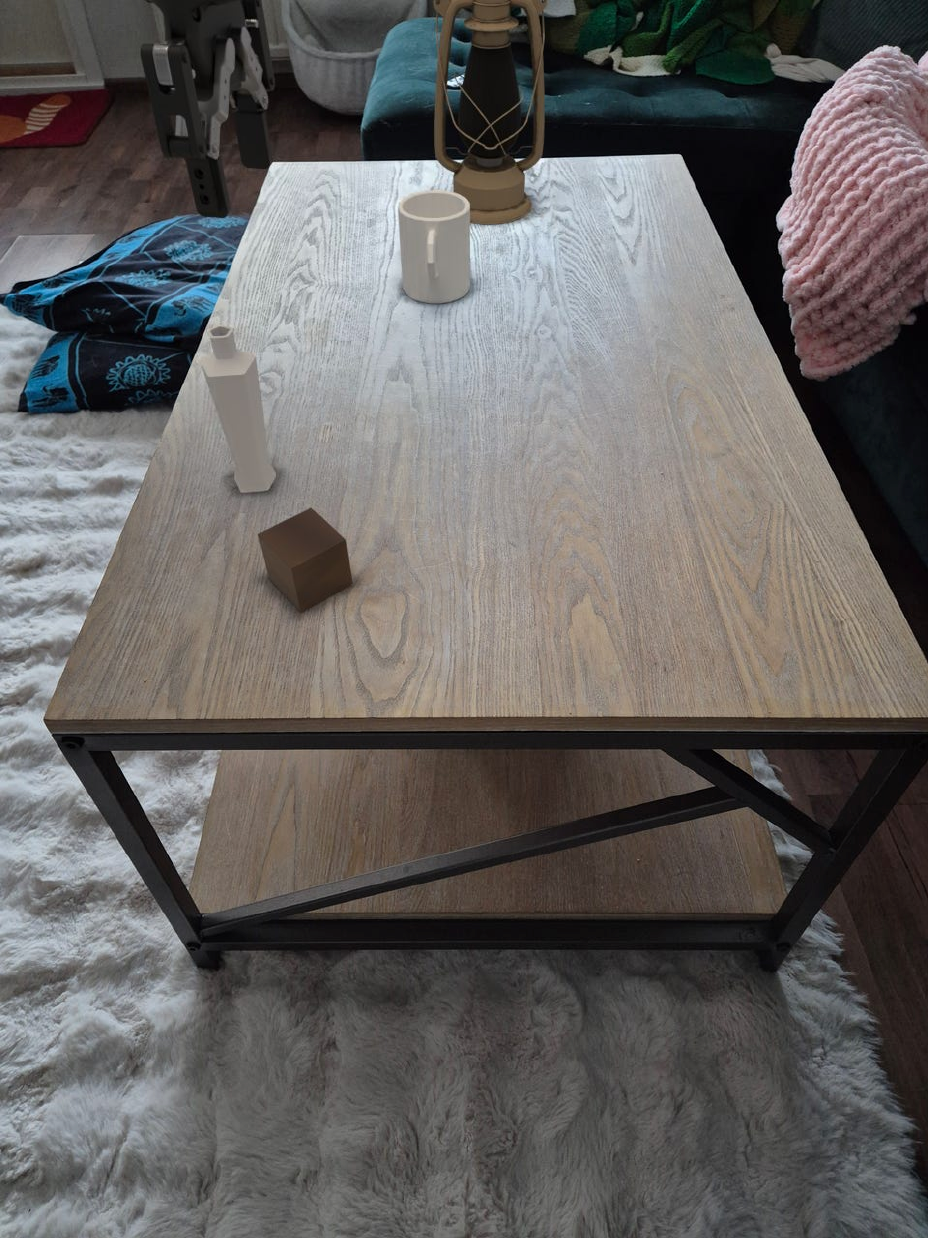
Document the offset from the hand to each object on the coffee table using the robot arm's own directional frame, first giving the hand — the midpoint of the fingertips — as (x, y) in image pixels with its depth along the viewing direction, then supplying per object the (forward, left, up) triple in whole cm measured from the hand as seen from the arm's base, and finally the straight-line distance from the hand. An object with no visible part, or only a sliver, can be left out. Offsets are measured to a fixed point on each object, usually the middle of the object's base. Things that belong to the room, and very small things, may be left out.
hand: (237, 190), depth 61 cm
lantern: (+34, +53, -26) cm, 67 cm away
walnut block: (0, -14, -25) cm, 29 cm away
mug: (+21, +30, -26) cm, 44 cm away
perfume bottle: (-3, 0, -26) cm, 26 cm away
